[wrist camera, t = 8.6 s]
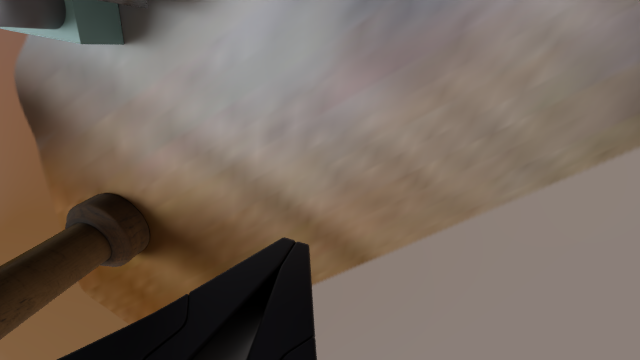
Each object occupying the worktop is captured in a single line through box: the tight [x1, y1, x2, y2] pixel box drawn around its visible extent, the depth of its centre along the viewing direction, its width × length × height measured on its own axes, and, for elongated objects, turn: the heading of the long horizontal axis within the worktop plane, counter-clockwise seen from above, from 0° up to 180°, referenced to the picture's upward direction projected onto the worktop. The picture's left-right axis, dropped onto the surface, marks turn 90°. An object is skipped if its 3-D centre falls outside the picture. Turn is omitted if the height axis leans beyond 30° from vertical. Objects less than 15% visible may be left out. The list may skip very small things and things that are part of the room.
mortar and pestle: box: [0, 193, 150, 339], centre depth 19 cm, size 7×6×18 cm
